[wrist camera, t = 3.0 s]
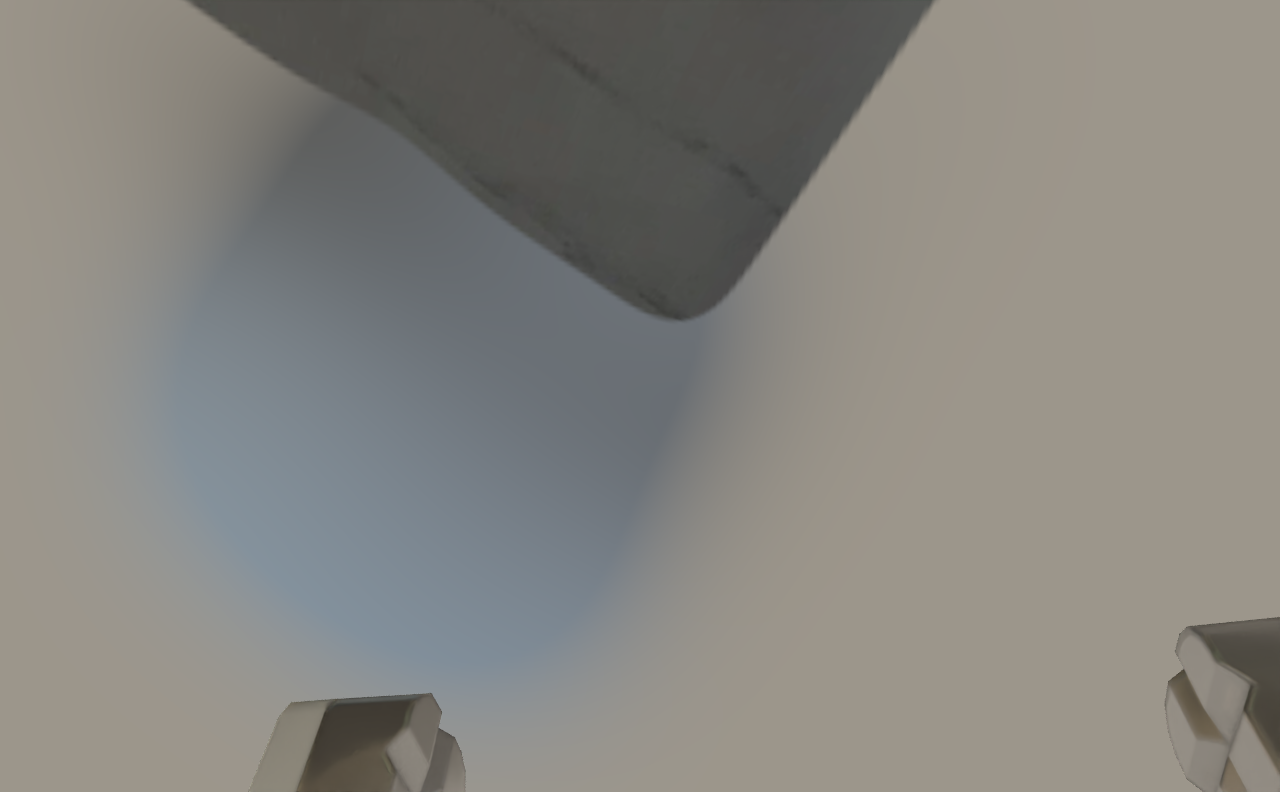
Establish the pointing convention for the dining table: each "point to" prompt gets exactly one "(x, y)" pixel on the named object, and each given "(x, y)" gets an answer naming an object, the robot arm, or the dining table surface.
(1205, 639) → the robot arm
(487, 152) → the dining table surface
